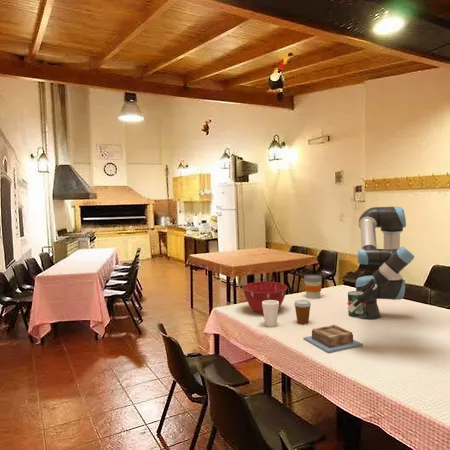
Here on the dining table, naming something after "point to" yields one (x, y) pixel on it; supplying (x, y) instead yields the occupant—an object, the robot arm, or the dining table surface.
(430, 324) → the dining table surface
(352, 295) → the canned tomato
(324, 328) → the walnut block
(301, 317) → the disposable coffee cup
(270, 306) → the foam cup
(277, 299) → the mixing bowl
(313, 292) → the reusable coffee cup
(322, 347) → the board
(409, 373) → the dining table surface
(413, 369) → the dining table surface
